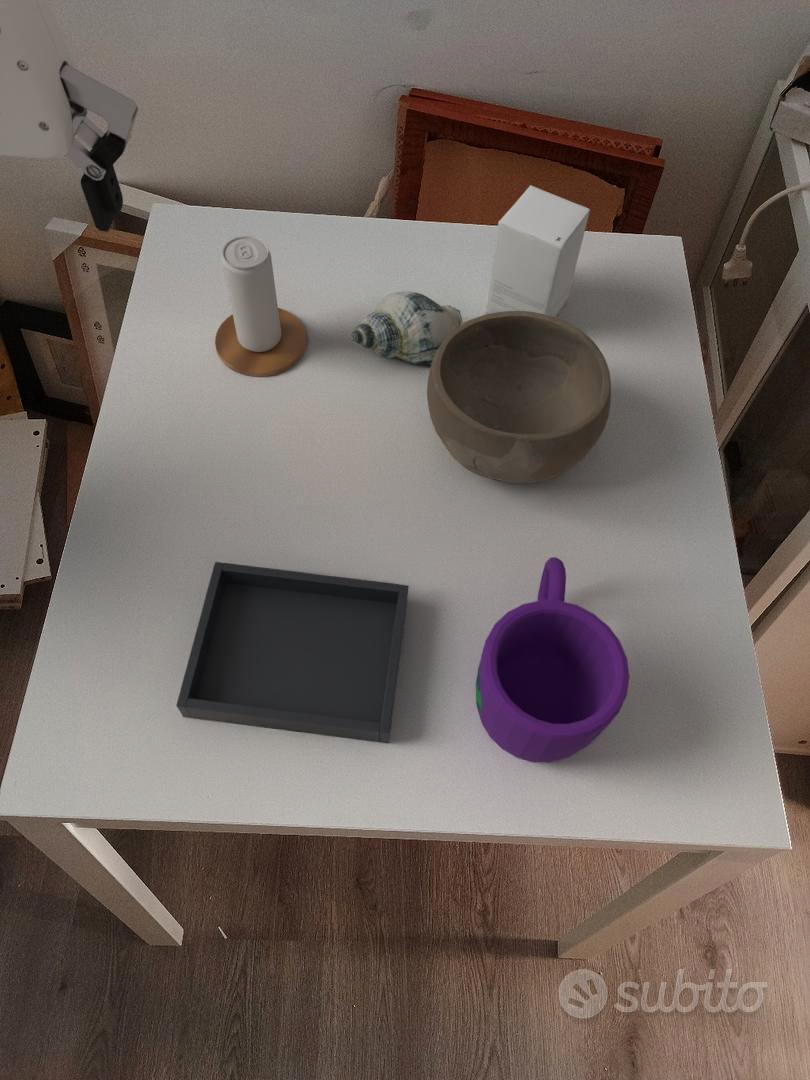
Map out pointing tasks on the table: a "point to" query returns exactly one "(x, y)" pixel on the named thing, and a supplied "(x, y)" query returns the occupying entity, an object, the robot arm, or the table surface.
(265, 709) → the tray
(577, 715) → the mug
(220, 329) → the copper pad
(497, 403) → the bowl
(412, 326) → the seashell
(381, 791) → the table surface
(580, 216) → the white packaging box
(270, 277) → the beverage can
